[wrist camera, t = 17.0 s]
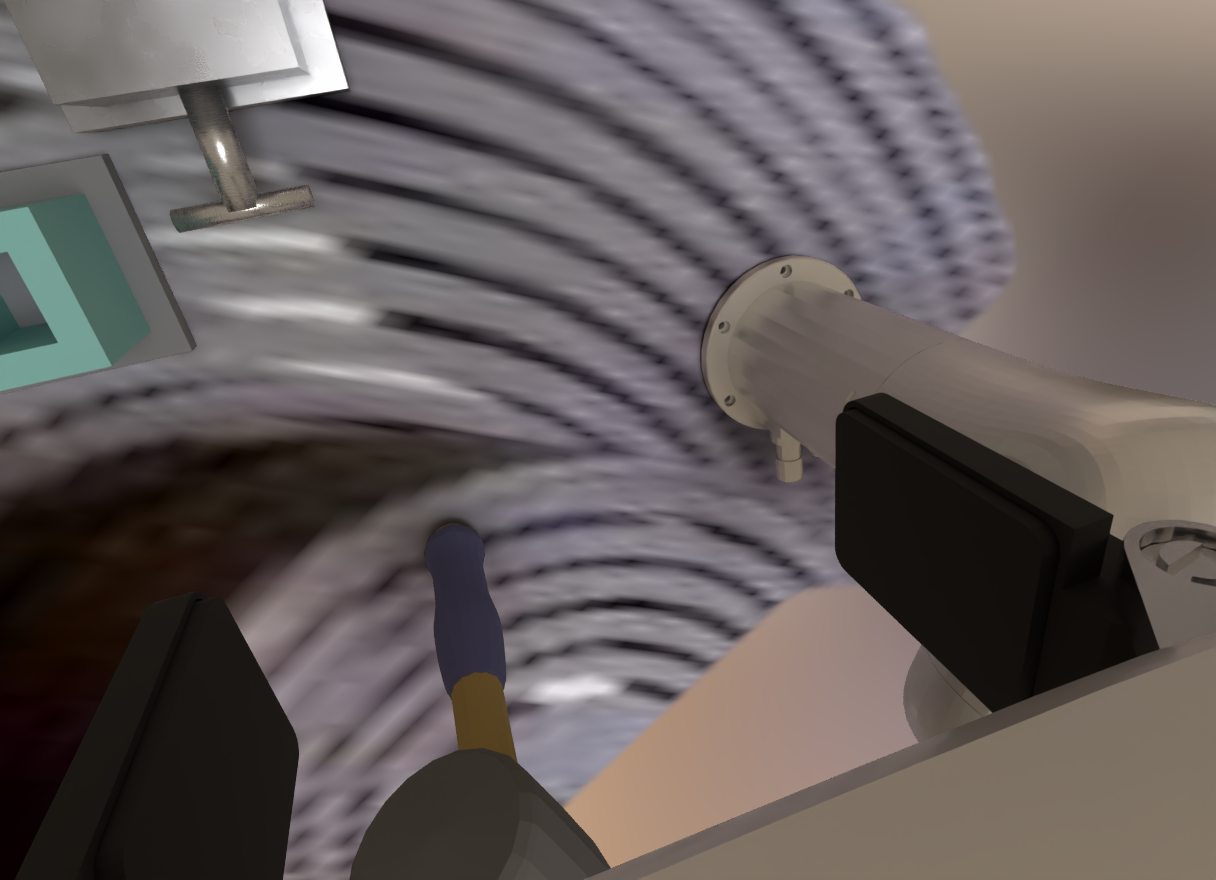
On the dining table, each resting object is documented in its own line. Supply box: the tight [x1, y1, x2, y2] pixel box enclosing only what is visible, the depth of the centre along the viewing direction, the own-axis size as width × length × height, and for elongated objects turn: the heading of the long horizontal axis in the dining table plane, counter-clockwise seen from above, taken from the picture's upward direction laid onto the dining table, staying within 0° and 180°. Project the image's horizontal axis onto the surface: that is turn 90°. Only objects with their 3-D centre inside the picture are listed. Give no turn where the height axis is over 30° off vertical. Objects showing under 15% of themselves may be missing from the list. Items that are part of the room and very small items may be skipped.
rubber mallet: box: [350, 523, 611, 880], centre depth 34 cm, size 12×8×30 cm, turn 22°
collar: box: [0, 194, 151, 391], centre depth 31 cm, size 7×7×6 cm
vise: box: [4, 0, 351, 233], centre depth 26 cm, size 17×12×14 cm
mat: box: [0, 154, 196, 394], centre depth 34 cm, size 10×10×1 cm
